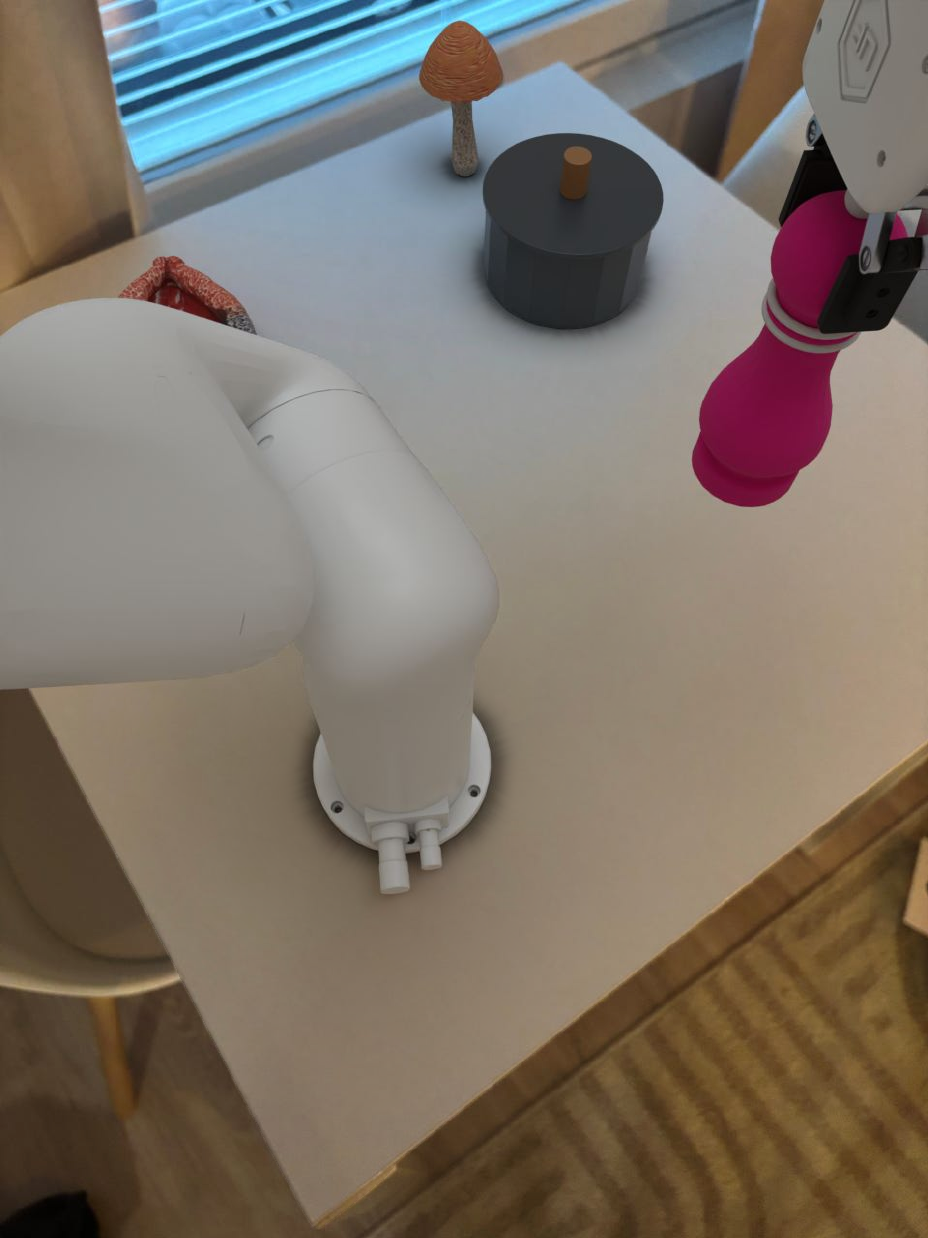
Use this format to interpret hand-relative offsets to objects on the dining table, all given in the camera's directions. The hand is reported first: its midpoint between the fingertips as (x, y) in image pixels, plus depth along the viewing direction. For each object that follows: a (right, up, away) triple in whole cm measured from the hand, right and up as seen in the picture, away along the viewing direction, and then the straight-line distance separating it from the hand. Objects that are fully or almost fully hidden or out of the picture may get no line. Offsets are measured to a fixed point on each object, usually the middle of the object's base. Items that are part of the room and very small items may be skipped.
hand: (830, 272), depth 44 cm
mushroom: (-18, +30, +54) cm, 64 cm away
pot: (-8, +17, +47) cm, 50 cm away
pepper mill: (0, -7, +13) cm, 15 cm away
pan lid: (-8, +21, +39) cm, 45 cm away
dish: (-42, +1, +38) cm, 56 cm away
